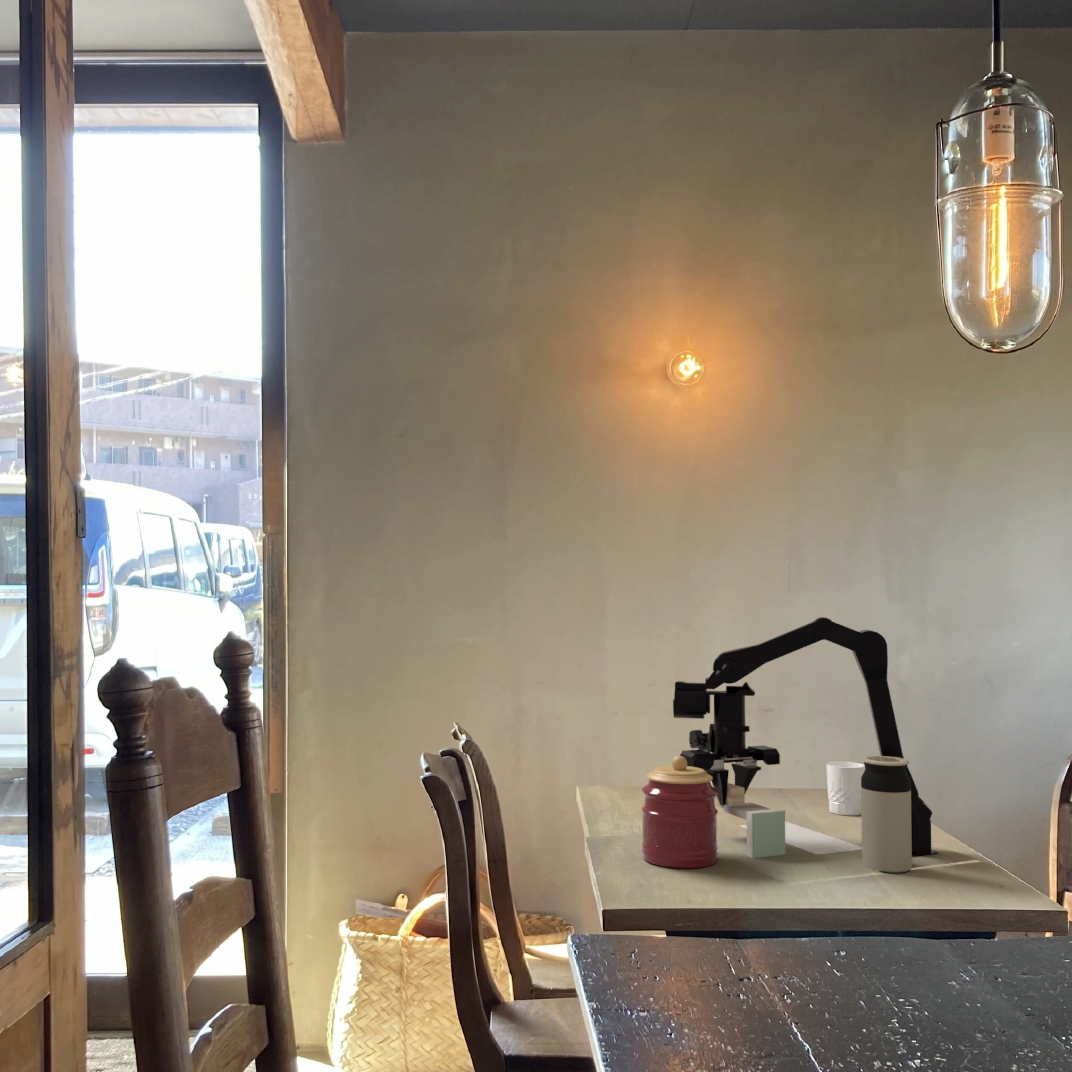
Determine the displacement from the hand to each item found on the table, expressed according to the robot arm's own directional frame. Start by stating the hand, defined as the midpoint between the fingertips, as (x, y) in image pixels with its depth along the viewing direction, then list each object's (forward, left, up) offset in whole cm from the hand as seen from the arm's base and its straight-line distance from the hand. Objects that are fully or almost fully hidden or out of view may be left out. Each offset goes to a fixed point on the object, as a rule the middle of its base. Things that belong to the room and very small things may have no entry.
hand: (730, 804), depth 190 cm
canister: (-7, +15, -7) cm, 18 cm away
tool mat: (-2, -14, -7) cm, 16 cm away
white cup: (+14, -38, -7) cm, 41 cm away
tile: (-11, 0, -7) cm, 13 cm away
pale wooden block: (-2, 0, -1) cm, 2 cm away
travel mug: (-24, -15, -7) cm, 29 cm away
